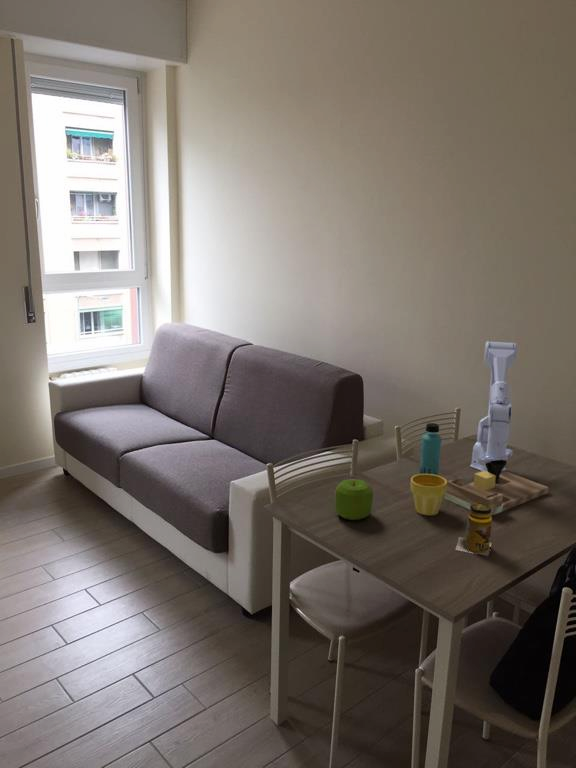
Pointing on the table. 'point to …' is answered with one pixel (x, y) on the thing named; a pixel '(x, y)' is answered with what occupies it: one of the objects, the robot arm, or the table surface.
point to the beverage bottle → (430, 450)
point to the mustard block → (484, 480)
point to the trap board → (495, 492)
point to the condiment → (477, 530)
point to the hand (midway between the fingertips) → (493, 481)
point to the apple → (353, 499)
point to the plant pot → (428, 492)
